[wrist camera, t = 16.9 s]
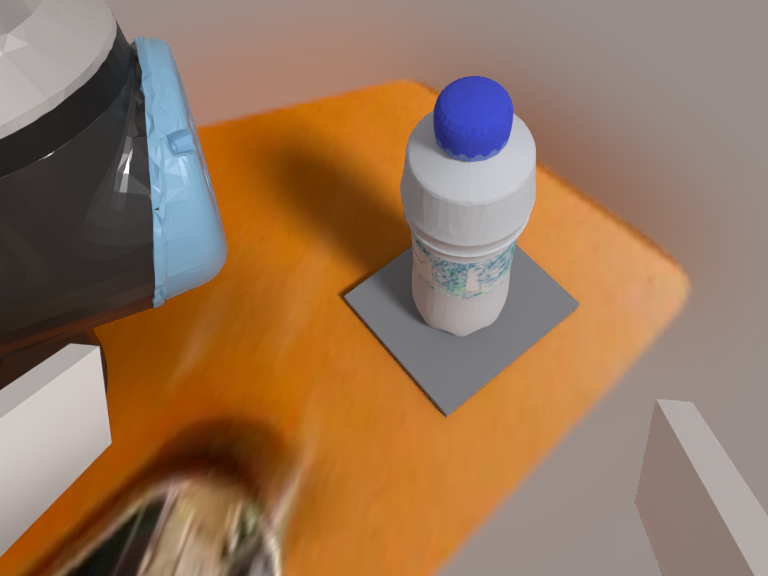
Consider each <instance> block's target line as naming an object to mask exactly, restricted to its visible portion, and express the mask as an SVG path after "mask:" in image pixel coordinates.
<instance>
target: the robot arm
mask: <svg viewBox="0 0 768 576" xmlns="http://www.w3.org/2000/svg"><path fill="white" fill-rule="evenodd" d="M226 256H227V243H226V238H225V233H224V229H223V225H222V221H221V217H220V213H219V209H218V205H217V201H216V198H215V194H214V190H213V187H212V183H211V179H210V176H209V172H208V168H207V165H206V161H205V158H204V154H203V151H202V147H201V144H200V141H199V137H198V134H197V130H196V127H195V123H194V120H193V116H192V113H191V110H190V106H189V103H188V100H187V96H186V93H185V90H184V86H183V83H182V80H181V77H180V74H179V71H178V68H177V65H176V63H175V60H174V58H173V55H172V51H171V48H170V46H169V45H168V43H166V42H165V41H164V40H161V39H158V38H154V39H147V38H144V37H141V38H140V37H138V38H135V39H134V42H133V43H131V44H129V43H128V42H127V41H126V39H125V37H124V35H123V33H122V31H121V29H120V27H119V25H118V23H117V21H116V19H115V17H114V15H113V13H112V12H111V10H110V9H109V7H108V6H107V4H106V3H105V2H104V1H103V0H0V557H1V555H2V554H3V553H4V552H5V551H6V550H7V549H8V548H9V547H10V546H11V545H12V544H13V543H14V542H15V541H16V540H17V539H18V538H19V537H20V536H21V535H22V534H23V533H24V532H25V531H26V530H27V529H28V528H29V527H30V526H31V525H32V524H33V523H34V522H35V521H36V520H37V519H38V518H39V517H40V516H41V515H42V514H43V513H44V512H45V511H46V509H47V508H48V507H49V506H50V505H51V504H52V503H53V502H54V501H55V500H56V499H57V498H58V497H59V496H60V495H61V494H62V493H63V492H64V491H65V490H66V489H67V488H68V487H69V486H70V485H71V484H72V483H73V482H74V481H75V480H76V479H77V478H78V477H79V476H80V475H81V474H82V473H83V472H84V471H85V470H86V469H87V468H88V467H89V466H90V464H91V463H92V462H93V461H94V460H95V459H96V458H97V457H98V456H99V455H100V454H101V453H102V452H103V451H104V450H105V449H106V448H107V447H108V446H109V445H110V444H111V443H112V442H111V434H110V426H109V418H108V410H107V403H106V391H107V365H106V359H105V355H104V352H103V349H102V346H101V344H100V342H99V340H98V338H97V336H96V335H95V333H94V332H93V330H92V329H91V328H94V327H97V326H100V325H102V324H105V323H108V322H111V321H114V320H117V319H120V318H123V317H126V316H129V315H132V314H135V313H137V312H140V311H143V310H146V309H149V308H157V307H159V306H162V305H163V304H164V302H165V300H168V299H170V298H172V297H175V296H177V295H180V294H182V293H184V292H187V291H189V290H191V289H194V288H196V287H198V286H201V285H203V284H205V283H207V282H209V281H211V279H213V278H214V277H215V276H216V275H217V274H218V273H219V271H220V270H221V269H222V267H223V265H224V263H225V261H226ZM635 504H636V506H637V509H638V512H639V514H640V517H641V519H642V522H643V525H644V528H645V530H646V533H647V536H648V538H649V541H650V544H651V546H652V549H653V551H654V554H655V557H656V560H657V562H658V565H659V568H660V571H661V573H662V576H768V516H767V514H766V513H765V511H764V510H763V508H762V507H761V505H760V504H759V502H758V501H757V499H756V498H755V497H754V495H753V494H752V492H751V490H750V489H749V487H748V486H747V484H746V483H745V481H744V480H743V478H742V477H741V475H740V474H739V472H738V471H737V469H736V468H735V466H734V465H733V463H732V462H731V460H730V458H729V457H728V455H727V454H726V452H725V451H724V449H723V448H722V447H721V445H720V444H719V442H718V440H717V439H716V437H715V436H714V434H713V433H712V431H711V430H710V428H709V427H708V425H707V424H706V422H705V421H704V419H703V418H702V416H701V415H700V413H699V412H698V410H697V409H696V407H695V406H694V404H693V403H692V402H684V401H674V400H663V399H656V401H655V406H654V411H653V416H652V421H651V426H650V431H649V435H648V441H647V445H646V450H645V455H644V460H643V465H642V470H641V475H640V480H639V485H638V490H637V494H636V499H635Z"/></svg>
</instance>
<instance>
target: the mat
mask: <svg viewBox="0 0 768 576" xmlns="http://www.w3.org/2000/svg"><path fill="white" fill-rule="evenodd" d="M412 270H413V251H412V246H411V247H410V248H408V249H407V250H406V251H404V252H403V253H402V254H400V255H399V256H398V257H396V258H395V259H394V260H392V261H391V262H390V263H388V264H387V265H386V266H384V267H383V268H381V269H380V270H379V271H377V272H376V273H375V274H373V275H372V276H371V277H369V278H368V279H367V280H365V281H364V282H363V283H361V284H360V285H359V286H357V287H356V288H354V289H353V290H352V291H350V292H349V293H348V294H346V295H345V296H344V298H345V301H346V302H347V304H348V305H349V306H350V307H351V308H352V309H353V310H354V312H355V313H356V314H357V315H358V316H359V317H360V319H361V320H362V321H363V322H364V323H365V324H366V325H367V327H368V328H369V329H370V330H371V331H372V332H373V334H374V335H375V336H376V337H377V338H378V339H379V340H380V342H381V343H382V344H383V345H384V346H385V347H386V349H387V350H388V351H389V352H390V353H391V354H392V355H393V357H394V358H395V359H396V360H397V361H398V362H399V364H400V365H401V366H402V367H403V368H404V369H405V371H406V372H407V373H408V374H409V375H410V376H411V377H412V379H413V380H414V381H415V382H416V383H417V384H418V386H419V387H420V388H421V389H422V390H423V391H424V392H425V394H426V395H427V396H428V397H429V398H430V399H431V401H432V402H433V403H434V404H435V405H436V406H437V407H438V409H439V410H440V411H441V412H442V413H443V414H444V416H445V417H448V416H449V415H450V414H451V413H452V412H454V411H455V410H456V409H457V408H458V407H460V406H461V405H462V404H463V403H464V402H466V401H467V400H468V399H469V398H470V397H472V396H473V395H474V394H475V393H476V392H478V391H479V390H480V389H481V388H482V387H484V386H485V385H486V384H487V383H488V382H490V381H491V380H492V379H493V378H494V377H496V376H497V375H498V374H499V373H500V372H502V371H503V370H504V369H505V368H506V367H508V366H509V365H510V364H511V363H512V362H514V361H515V360H516V359H517V358H518V357H520V356H521V355H522V354H523V353H524V352H526V351H527V350H528V349H529V348H530V347H532V346H533V345H534V344H535V343H536V342H538V341H539V340H540V339H541V338H542V337H544V336H545V335H546V334H547V333H548V332H550V331H551V330H552V329H553V328H554V327H556V326H557V325H558V324H559V323H560V322H562V321H563V320H564V319H565V318H566V317H568V316H569V315H570V314H571V313H572V312H574V311H575V310H576V309H577V308H578V306H579V303H578V302H577V301H576V300H575V299H574V298H573V297H572V296H571V295H570V294H569V293H567V292H566V291H565V290H564V289H563V288H562V287H561V286H560V285H559V284H558V283H557V282H556V281H555V280H554V279H552V278H551V277H550V276H549V275H548V274H547V273H546V272H545V271H544V270H543V269H542V268H541V267H540V266H539V265H537V264H536V263H535V262H534V261H533V260H532V259H531V258H530V257H529V256H528V255H527V254H526V253H525V252H524V251H522V250H521V249H520V248H519V247H518V246H517V245H516V246H515V250H514V255H513V259H512V263H511V267H510V279H509V289H508V294H507V298H506V301H505V304H504V306H503V308H502V310H501V312H500V314H499V316H498V317H497V319H496V320H495V321H494V322H493V323H492V324H491V325H489V326H488V327H483V328H481V329H479V330H477V331H474V332H472V333H471V334H469V335H467V336H462V337H458V336H455V335H454V334H452V333H450V332H447V331H444V330H441V329H437V328H432V327H430V326H429V325H428V324H427V323H426V322H425V320H424V319H423V317H422V315H421V313H420V312H419V310H418V308H417V307H416V304H415V301H414V298H413V294H412Z"/></svg>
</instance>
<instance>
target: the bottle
mask: <svg viewBox="0 0 768 576" xmlns="http://www.w3.org/2000/svg"><path fill="white" fill-rule="evenodd" d="M535 171H536V148H535V143H534V140H533V137H532V135H531V133H530V131H529V129H528V128H527V126H526V125H525V124H524V122H523V121H522V120H521V119H520V118H519V117H517V116H516V115H515V114H514V113H513V105H512V101H511V98H510V97H509V95H508V92H507V91H506V90H505V89H504V88H503V87H502V86H501V85H499V84H498V83H497V82H495V81H493V80H491V79H488V78H485V77H480V76H470V77H464V78H461V79H458V80H456V81H454V82H452V83H451V84H449V85H448V86H446V87H445V89H444V90H442V92H441V94H440V95H439V96H438V98H437V101H436V104H435V107H434V110H433V111H432V112H430V113H429V114H427V115H426V116H425V117H424V118H423V119H422V120H421V121H420V122H419V123H418V124H417V125H416V127H415V128H414V130H413V131H412V133H411V135H410V137H409V140H408V143H407V148H406V156H405V164H404V171H403V176H402V179H401V186H400V192H401V200H402V203H403V211H404V215H405V219H406V221H407V223H408V225H409V227H410V229H411V236H412V251H413V270H412V294H413V298H414V301H415V304H416V307H417V308H418V310H419V312H420V313H421V315H422V317H423V319H424V320H425V322H426V323H427V324H428V325H429V326H430V327H432V328H437V329H441V330H444V331H447V332H450V333H452V334H454V335H455V336H458V337H462V336H467V335H469V334H471V333H472V332H474V331H477V330H479V329H481V328H483V327H488V326H489V325H491V324H492V323H493V322H494V321H495V320H496V319H497V317H498V316H499V314H500V312H501V310H502V308H503V306H504V304H505V301H506V298H507V294H508V289H509V279H510V267H511V263H512V259H513V255H514V250H515V246H516V242H517V238H518V236H519V235H520V234H521V232H522V231H523V229H524V228H525V226H526V224H527V222H528V220H529V216H530V212H531V211H532V208H533V205H534V202H535V196H536V183H535Z"/></svg>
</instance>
